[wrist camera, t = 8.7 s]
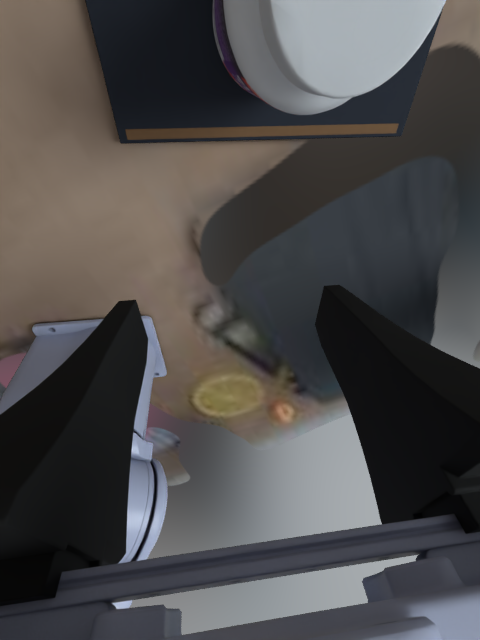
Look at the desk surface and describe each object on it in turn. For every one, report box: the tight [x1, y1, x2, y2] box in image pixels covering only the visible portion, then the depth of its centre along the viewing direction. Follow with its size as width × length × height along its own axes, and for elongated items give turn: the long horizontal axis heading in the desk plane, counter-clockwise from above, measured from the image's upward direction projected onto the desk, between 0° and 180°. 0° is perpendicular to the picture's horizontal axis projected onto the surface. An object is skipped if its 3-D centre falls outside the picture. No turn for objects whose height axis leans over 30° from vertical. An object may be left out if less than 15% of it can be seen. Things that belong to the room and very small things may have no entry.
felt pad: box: [85, 0, 443, 143], centre depth 13 cm, size 16×9×1 cm, turn 90°
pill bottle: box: [213, 0, 446, 115], centre depth 9 cm, size 5×5×10 cm
